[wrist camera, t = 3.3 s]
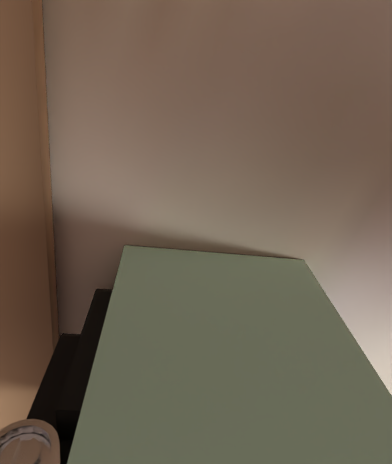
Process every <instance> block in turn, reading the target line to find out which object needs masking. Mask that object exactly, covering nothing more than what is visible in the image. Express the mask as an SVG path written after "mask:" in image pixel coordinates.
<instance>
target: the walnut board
mask: <svg viewBox="0 0 392 464" xmlns="http://www.w3.org/2000/svg"><path fill="white" fill-rule="evenodd" d="M58 340H59V331H58V312H57V292H56V272H55V252H54V232H53V212H52V192H51V172H50V152H49V132H48V113H47V93H46V73H45V53H44V33H43V13H42V0H0V430H1V429H2V428H4V427H6V426H7V425H9V424H11V423H14V422H17V421H20V420H25V419H26V418H27V416H28V413H29V411H30V409H31V406H32V404H33V401H34V399H35V396H36V394H37V391H38V389H39V387H40V384H41V382H42V379H43V377H44V374H45V372H46V369H47V367H48V364H49V362H50V360H51V357H52V355H53V352H54V350H55V347H56V345H57V342H58Z"/></svg>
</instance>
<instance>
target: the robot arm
mask: <svg viewBox="0 0 392 464" xmlns="http://www.w3.org/2000/svg"><path fill="white" fill-rule="evenodd" d="M112 291H113V290H106V289H96V291H95V294H94V297H93V300H92V303H91V306H90V309H89V312H88V315H87V318H86V321H85V324H84V327H83V330H82V333H81V334H64V333H63V334H62V335H61V336H60V338H59V340H58V342H57V345H56V347H55V350H54V352H53V355H52V357H51V360H50V362H49V364H48V367H47V369H46V372H45V374H44V377H43V379H42V382H41V384H40V387H39V389H38V391H37V394H36V396H35V399H34V401H33V404H32V406H31V409H30V411H29V413H28V416H27V418H26V419H25V420H20V421H17V422H14V423H11V424H9V425H7V426H6V427H4V428H2V429H1V430H0V464H67V462H68V458H69V454H70V450H71V447H72V443H73V439H74V435H75V431H76V428H77V424H78V420H79V416H80V412H81V409H82V405H83V401H84V397H85V393H86V390H87V386H88V382H89V378H90V374H91V370H92V367H93V363H94V359H95V355H96V351H97V348H98V344H99V340H100V336H101V332H102V329H103V325H104V321H105V317H106V313H107V310H108V306H109V302H110V298H111V294H112Z"/></svg>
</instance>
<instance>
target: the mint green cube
mask: <svg viewBox="0 0 392 464" xmlns="http://www.w3.org/2000/svg"><path fill="white" fill-rule="evenodd" d="M67 464H392V396H391V394H390V393H389V391H388V390H387V388H386V386H385V385H384V383H383V382H382V380H381V379H380V377H379V376H378V374H377V372H376V371H375V369H374V368H373V366H372V365H371V363H370V362H369V360H368V359H367V357H366V355H365V354H364V352H363V351H362V349H361V348H360V346H359V345H358V343H357V342H356V340H355V338H354V337H353V335H352V334H351V332H350V331H349V329H348V328H347V326H346V324H345V323H344V321H343V320H342V318H341V317H340V315H339V314H338V312H337V311H336V309H335V307H334V306H333V304H332V303H331V301H330V300H329V298H328V297H327V295H326V293H325V292H324V290H323V289H322V287H321V286H320V284H319V283H318V281H317V280H316V278H315V276H314V275H313V273H312V272H311V270H310V269H309V267H308V266H307V264H306V263H305V261H304V260H300V259H287V258H275V257H263V256H251V255H239V254H226V253H214V252H202V251H190V250H178V249H165V248H153V247H141V246H129V245H124V249H123V253H122V256H121V260H120V264H119V268H118V272H117V275H116V279H115V283H114V287H113V291H112V294H111V298H110V302H109V306H108V310H107V313H106V317H105V321H104V325H103V329H102V332H101V336H100V340H99V344H98V348H97V351H96V355H95V359H94V363H93V367H92V370H91V374H90V378H89V382H88V386H87V390H86V393H85V397H84V401H83V405H82V409H81V412H80V416H79V420H78V424H77V428H76V431H75V435H74V439H73V443H72V447H71V450H70V454H69V458H68V462H67Z"/></svg>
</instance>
